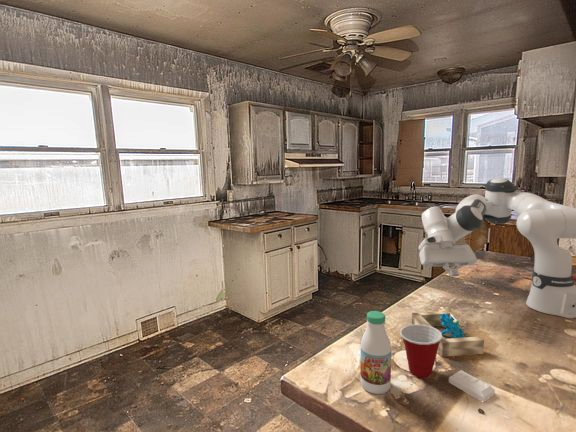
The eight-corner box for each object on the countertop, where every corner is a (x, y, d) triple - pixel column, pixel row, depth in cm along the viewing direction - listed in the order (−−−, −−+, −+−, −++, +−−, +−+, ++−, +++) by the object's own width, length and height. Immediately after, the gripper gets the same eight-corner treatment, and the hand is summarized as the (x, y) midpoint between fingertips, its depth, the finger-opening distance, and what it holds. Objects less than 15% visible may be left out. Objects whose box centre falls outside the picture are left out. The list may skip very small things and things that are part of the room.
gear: (460, 344, 101) (439, 315, 105) (445, 352, 104) (425, 324, 108) (471, 335, 108) (451, 308, 113) (456, 343, 112) (437, 317, 116)
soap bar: (459, 376, 89) (459, 368, 88) (494, 396, 81) (494, 386, 81) (448, 383, 86) (448, 374, 86) (483, 404, 79) (483, 394, 78)
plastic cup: (402, 356, 98) (402, 319, 96) (441, 366, 93) (443, 327, 91) (395, 377, 89) (396, 337, 87) (439, 389, 84) (441, 346, 82)
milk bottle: (356, 377, 89) (356, 308, 86) (383, 374, 90) (385, 306, 87) (365, 396, 82) (366, 322, 79) (395, 393, 82) (396, 320, 79)
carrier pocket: (446, 322, 118) (447, 310, 117) (483, 353, 98) (484, 339, 98) (411, 324, 117) (412, 313, 117) (441, 356, 97) (442, 342, 97)
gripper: (464, 246, 129) (477, 278, 121) (414, 247, 128) (424, 280, 120) (472, 238, 124) (486, 271, 116) (420, 239, 123) (431, 272, 115)
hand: (454, 275), depth 118 cm, fingers closed
